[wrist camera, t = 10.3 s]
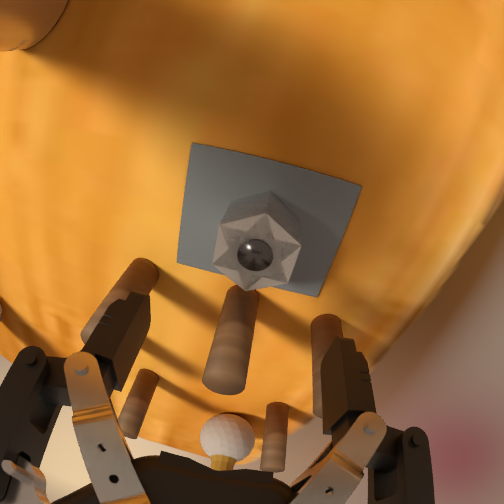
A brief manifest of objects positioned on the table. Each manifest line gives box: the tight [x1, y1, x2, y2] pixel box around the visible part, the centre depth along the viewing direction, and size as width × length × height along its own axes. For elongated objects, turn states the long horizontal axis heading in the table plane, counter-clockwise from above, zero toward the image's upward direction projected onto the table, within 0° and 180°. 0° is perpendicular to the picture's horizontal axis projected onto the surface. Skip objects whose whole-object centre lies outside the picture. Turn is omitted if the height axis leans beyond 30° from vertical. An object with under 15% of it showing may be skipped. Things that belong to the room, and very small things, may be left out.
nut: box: [212, 191, 301, 291], centre depth 20 cm, size 6×5×4 cm
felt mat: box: [177, 143, 362, 297], centre depth 22 cm, size 10×12×1 cm
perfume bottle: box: [200, 414, 255, 471], centre depth 33 cm, size 8×10×12 cm
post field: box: [81, 258, 343, 472], centre depth 26 cm, size 20×23×9 cm
